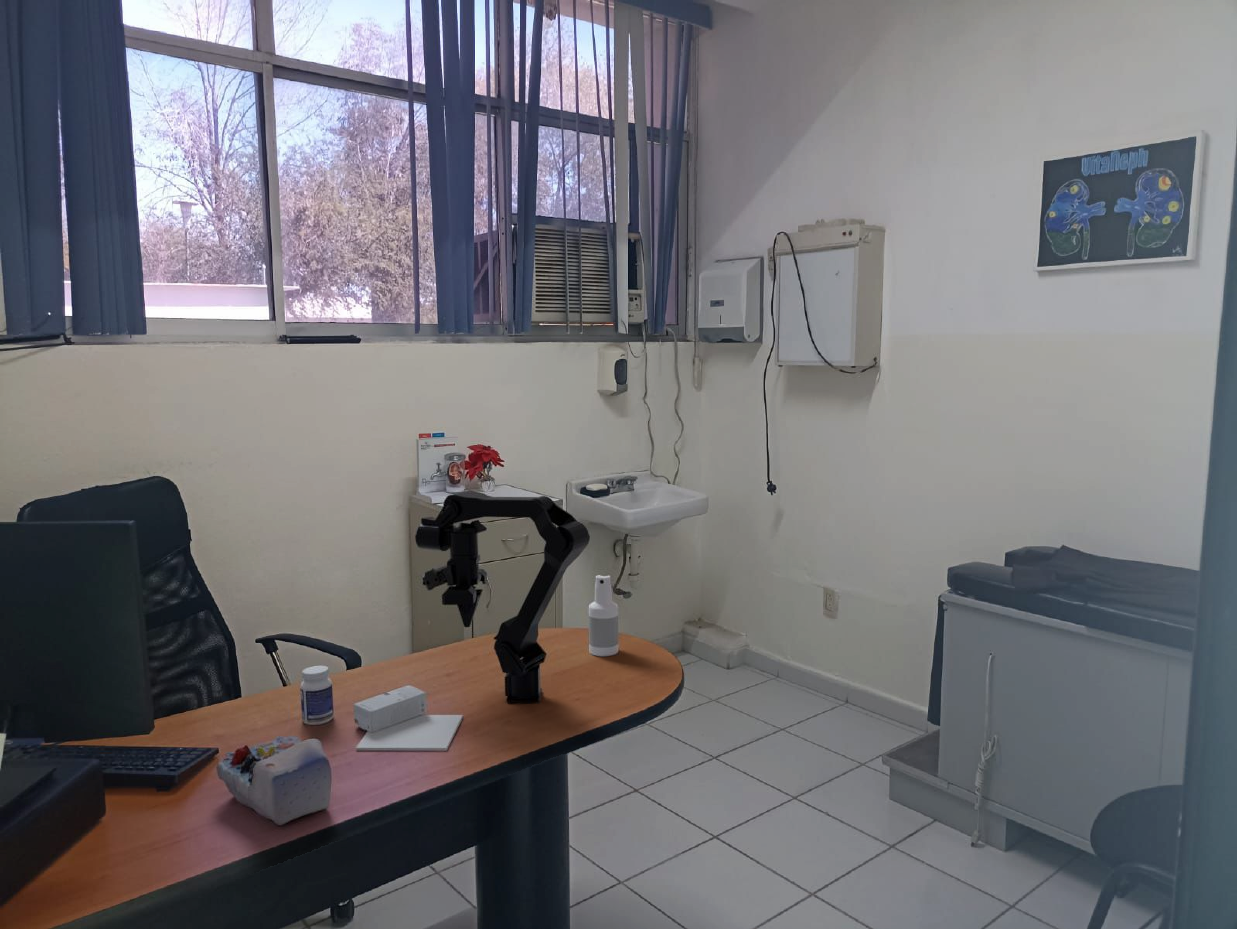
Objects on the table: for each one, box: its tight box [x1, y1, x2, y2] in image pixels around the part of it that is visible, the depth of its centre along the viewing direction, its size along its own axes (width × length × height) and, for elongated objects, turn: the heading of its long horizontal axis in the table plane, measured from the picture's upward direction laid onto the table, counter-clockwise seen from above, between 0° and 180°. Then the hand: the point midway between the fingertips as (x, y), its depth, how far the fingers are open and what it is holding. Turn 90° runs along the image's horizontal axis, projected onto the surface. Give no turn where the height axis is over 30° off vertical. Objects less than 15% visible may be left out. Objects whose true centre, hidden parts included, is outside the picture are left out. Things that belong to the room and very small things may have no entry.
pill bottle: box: [299, 665, 335, 726], centre depth 165 cm, size 6×6×10 cm
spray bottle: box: [588, 574, 619, 657], centre depth 201 cm, size 7×7×18 cm
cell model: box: [216, 735, 333, 826], centre depth 135 cm, size 13×11×20 cm
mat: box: [355, 714, 464, 752], centre depth 159 cm, size 16×14×1 cm
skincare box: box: [353, 684, 427, 733], centre depth 164 cm, size 6×4×12 cm
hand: (467, 626), depth 180 cm, fingers closed
